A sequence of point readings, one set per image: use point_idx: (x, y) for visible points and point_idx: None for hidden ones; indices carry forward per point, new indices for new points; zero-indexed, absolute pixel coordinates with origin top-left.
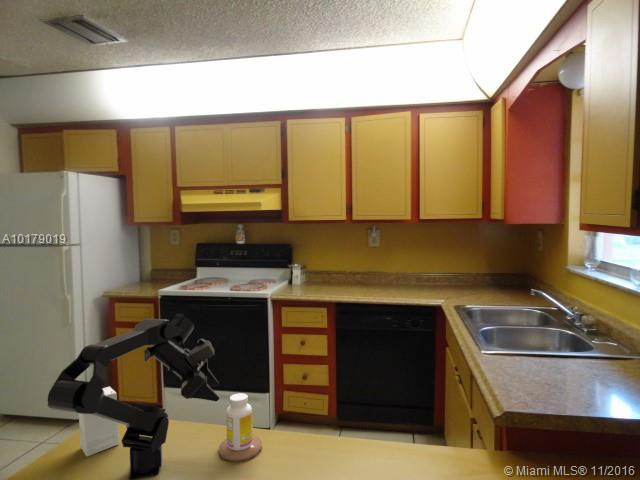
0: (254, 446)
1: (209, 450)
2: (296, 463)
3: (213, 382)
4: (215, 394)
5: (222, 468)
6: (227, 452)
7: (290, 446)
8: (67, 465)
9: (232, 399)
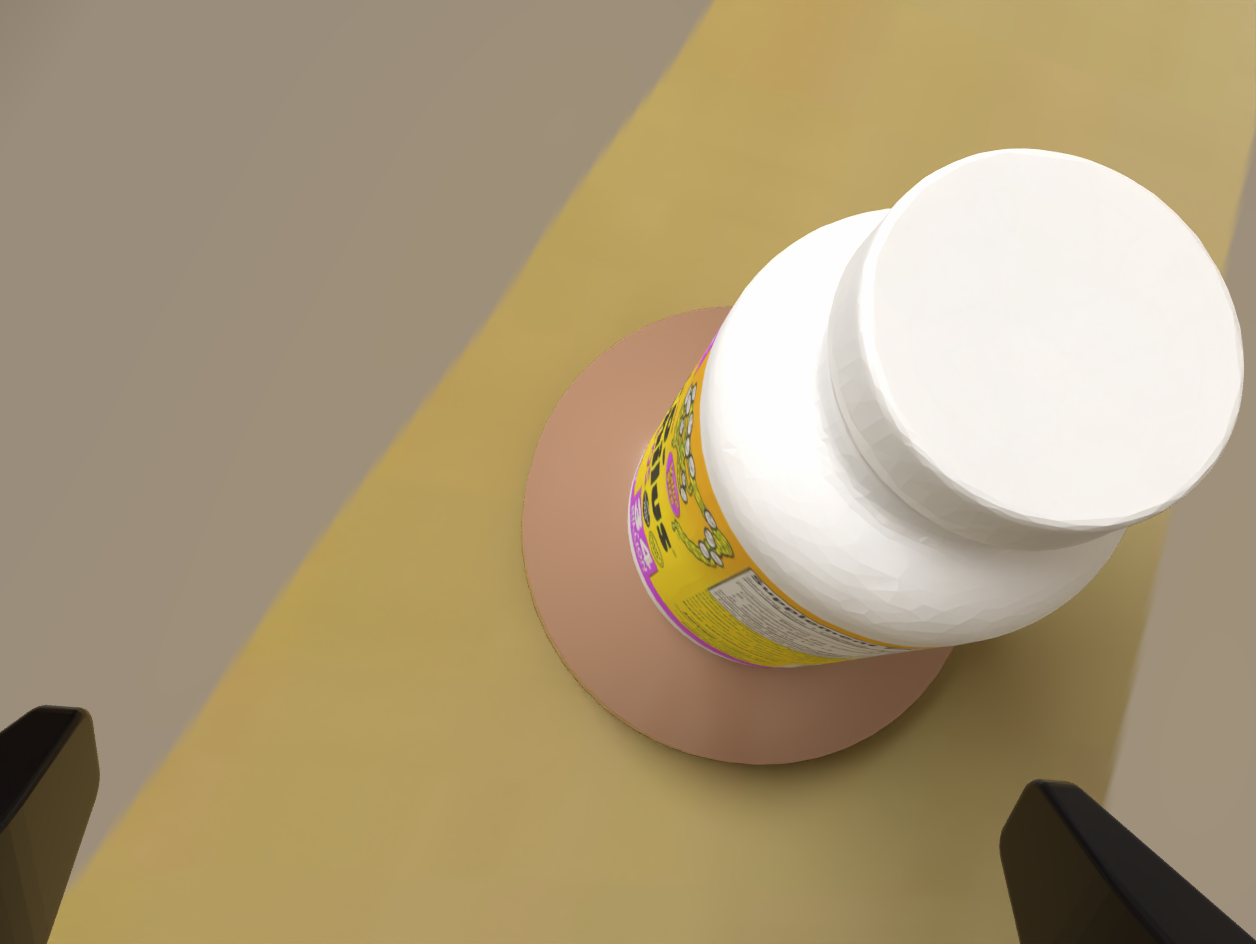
0: None
1: (652, 869)
2: (1107, 135)
3: (18, 907)
4: (1217, 912)
5: (1023, 754)
6: (866, 681)
7: (848, 94)
8: None
9: (1166, 480)
